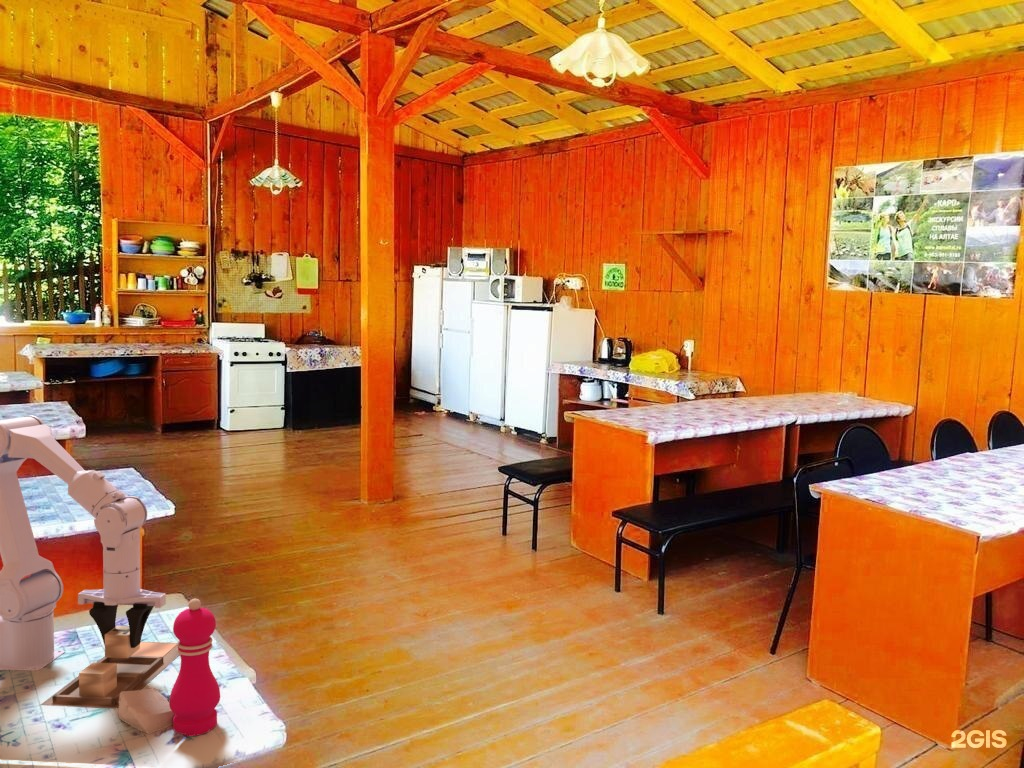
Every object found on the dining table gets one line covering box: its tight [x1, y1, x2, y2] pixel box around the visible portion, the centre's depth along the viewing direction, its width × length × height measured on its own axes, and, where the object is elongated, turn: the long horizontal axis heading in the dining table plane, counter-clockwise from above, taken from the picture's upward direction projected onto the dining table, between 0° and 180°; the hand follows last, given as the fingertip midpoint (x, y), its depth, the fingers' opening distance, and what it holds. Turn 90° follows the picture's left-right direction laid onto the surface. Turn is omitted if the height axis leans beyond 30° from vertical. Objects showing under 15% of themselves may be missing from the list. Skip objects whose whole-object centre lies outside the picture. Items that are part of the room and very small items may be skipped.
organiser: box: [40, 641, 180, 709], centre depth 135 cm, size 13×25×2 cm, turn 178°
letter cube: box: [104, 625, 140, 658], centre depth 135 cm, size 4×4×4 cm
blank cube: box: [78, 661, 117, 697], centre depth 127 cm, size 4×4×4 cm
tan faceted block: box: [117, 688, 176, 735], centre depth 119 cm, size 10×6×6 cm, turn 40°
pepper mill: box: [168, 598, 221, 737], centre depth 118 cm, size 7×7×20 cm
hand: (122, 644), depth 135 cm, fingers closed on letter cube, 4 cm apart
